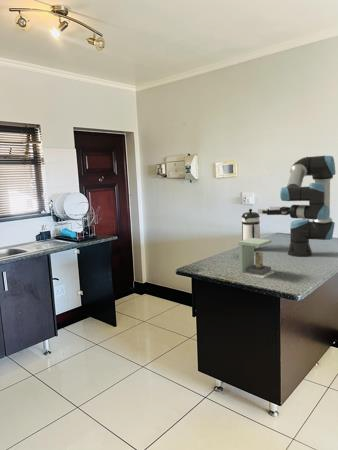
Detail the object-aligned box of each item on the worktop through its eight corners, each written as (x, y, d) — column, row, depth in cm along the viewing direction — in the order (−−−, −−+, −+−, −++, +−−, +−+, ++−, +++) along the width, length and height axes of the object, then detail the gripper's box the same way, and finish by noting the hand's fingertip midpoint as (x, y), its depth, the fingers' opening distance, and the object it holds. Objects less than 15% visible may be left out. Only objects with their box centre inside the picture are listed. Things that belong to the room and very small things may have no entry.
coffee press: (265, 251, 245) (265, 209, 240) (242, 252, 245) (242, 210, 240) (259, 245, 262) (259, 206, 257) (238, 246, 262) (237, 207, 258)
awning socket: (274, 272, 194) (274, 240, 192) (262, 278, 185) (262, 244, 183) (251, 268, 205) (251, 237, 202) (239, 273, 196) (238, 241, 193)
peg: (262, 270, 197) (262, 252, 196) (262, 272, 193) (262, 253, 192) (255, 270, 198) (255, 252, 197) (255, 272, 194) (255, 253, 193)
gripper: (288, 221, 181) (253, 219, 196) (308, 215, 198) (274, 213, 213) (288, 207, 180) (252, 206, 195) (308, 202, 197) (274, 201, 212)
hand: (264, 210), depth 204 cm, fingers open, 13 cm apart
